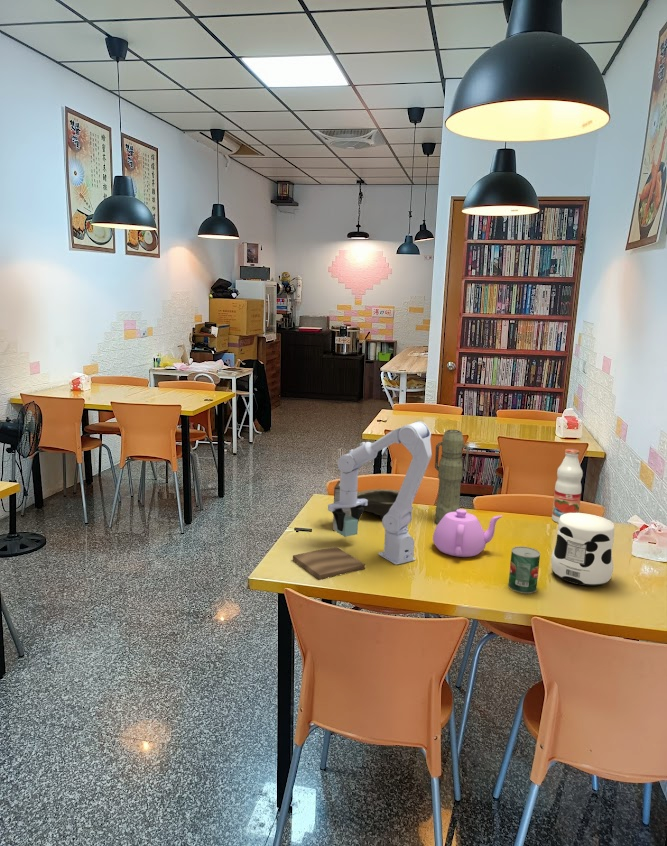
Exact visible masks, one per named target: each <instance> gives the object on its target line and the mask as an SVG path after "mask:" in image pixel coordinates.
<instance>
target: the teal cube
mask: <svg viewBox="0 0 667 846" xmlns="http://www.w3.org/2000/svg"><path fill="white" fill-rule="evenodd" d="M358 525H359V522H358V520H357V519H355V518H353V517H351V516H350V515H349V516H345V517H344V522H343V531H339V530H338V529H337V531H336V533H338V534H339V535H340V536H343V537H344V538H345V537H351V536H355V535H358Z"/></svg>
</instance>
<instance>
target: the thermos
mask: <svg viewBox="0 0 667 846" xmlns="http://www.w3.org/2000/svg"><path fill="white" fill-rule="evenodd" d="M440 446H441V454H440V455H441V456H440V460H439V453H440ZM464 448H465V449H466V453H465V454H466V455H465V466H464V461H463V451H464ZM469 451H470V448H469V446H468V445H467V444H465V443H464V436H463V432H462V431H460V430H459V429H458V430H457V429H447V430H445V431H444V433H443V436H442V440H441V441H440V442H438V443H437V444H436V445H435V457H434V459H435V460H434V468H435V470H436V471H437V472H438V474H437V477H438V493H437V504H436V507H435V512H434V513H435V515H434V516H435V521H434V522H435V524H436V526H437V525H438V523H439V522H440V521H441V519H442V518H443V517H444V516H445V515H446V514H447V513H449V512H456V510H457V509H461V508H460V499H461V497H460V496H461V485H462V484H461V483H462V482H461V481H462V480H463V476H464V475H463V474H467V473H468V472H467V471H468V465H469V453H470V452H469Z"/></svg>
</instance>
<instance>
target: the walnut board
mask: <svg viewBox="0 0 667 846" xmlns="http://www.w3.org/2000/svg"><path fill="white" fill-rule="evenodd" d="M292 561H294V562H295V563H296V564H298V566H299V567H302V569H305V571H307V572H308V573H309V574H311V575H312V576H314V577H315V578H316V579H318V580H319V581H321V580H325V579H328V577H329V578H334V577H337V576H336V575H338V576H341V575H340V574H342V575H345V573H346V574H349V573H353V572H358V571H362V570H365V569H366V563H364V562H362V561H361V560H359V559H358V558H356V557H354V556H353V555H351V554H349V553H348V552H346V551H344V550H343V549H342V548H340V547H338V546H331V547H326V548H322V549H318V550H317V549H316V550H313V551H308V552H303V553H299V554H294V555H292ZM333 576H334V577H333Z"/></svg>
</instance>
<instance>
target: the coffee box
mask: <svg viewBox="0 0 667 846" xmlns="http://www.w3.org/2000/svg"><path fill="white" fill-rule="evenodd" d="M333 490H334V491H333V503H335V502H338V501H339V500H340V480H338V481H337V482H336V484H335V485H334V487H333ZM342 510H343V512H345V513H346V514H345V516H349V515H350V516H351V509H350V508H346V509H342ZM332 515H333V514H332ZM332 517H333V518H332V521H333V522H332V531H333V530H335V531H334V532H337V524H336V520H335V517H334V515H333V516H332Z"/></svg>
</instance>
